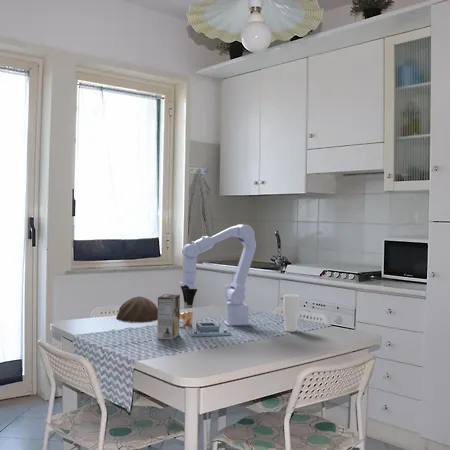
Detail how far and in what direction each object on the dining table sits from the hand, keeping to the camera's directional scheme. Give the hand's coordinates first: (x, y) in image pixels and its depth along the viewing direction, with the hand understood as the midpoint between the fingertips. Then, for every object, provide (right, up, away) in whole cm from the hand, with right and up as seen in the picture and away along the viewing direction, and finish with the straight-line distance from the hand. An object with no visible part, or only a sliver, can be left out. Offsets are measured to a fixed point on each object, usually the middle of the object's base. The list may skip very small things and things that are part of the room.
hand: (188, 303), depth 238 cm
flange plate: (+9, -10, -11) cm, 17 cm away
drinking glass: (+43, -11, -6) cm, 45 cm away
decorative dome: (-24, -9, +16) cm, 31 cm away
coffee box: (-6, -10, -22) cm, 25 cm away
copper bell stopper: (0, -10, 0) cm, 10 cm away
